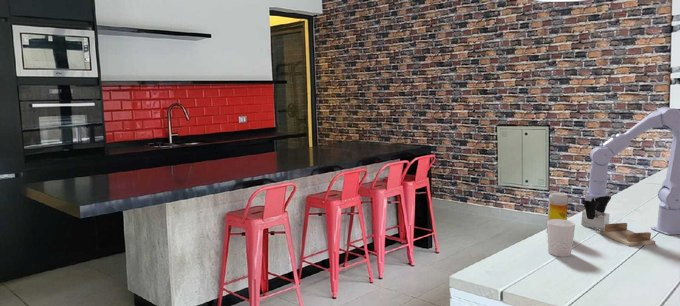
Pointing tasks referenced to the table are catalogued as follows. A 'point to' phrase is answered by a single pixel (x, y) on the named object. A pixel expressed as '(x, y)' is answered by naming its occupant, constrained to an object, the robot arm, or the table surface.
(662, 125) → the robot arm
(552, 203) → the beer can
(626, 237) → the birch cradle
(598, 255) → the table surface
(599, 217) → the aluminium block
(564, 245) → the white cup
